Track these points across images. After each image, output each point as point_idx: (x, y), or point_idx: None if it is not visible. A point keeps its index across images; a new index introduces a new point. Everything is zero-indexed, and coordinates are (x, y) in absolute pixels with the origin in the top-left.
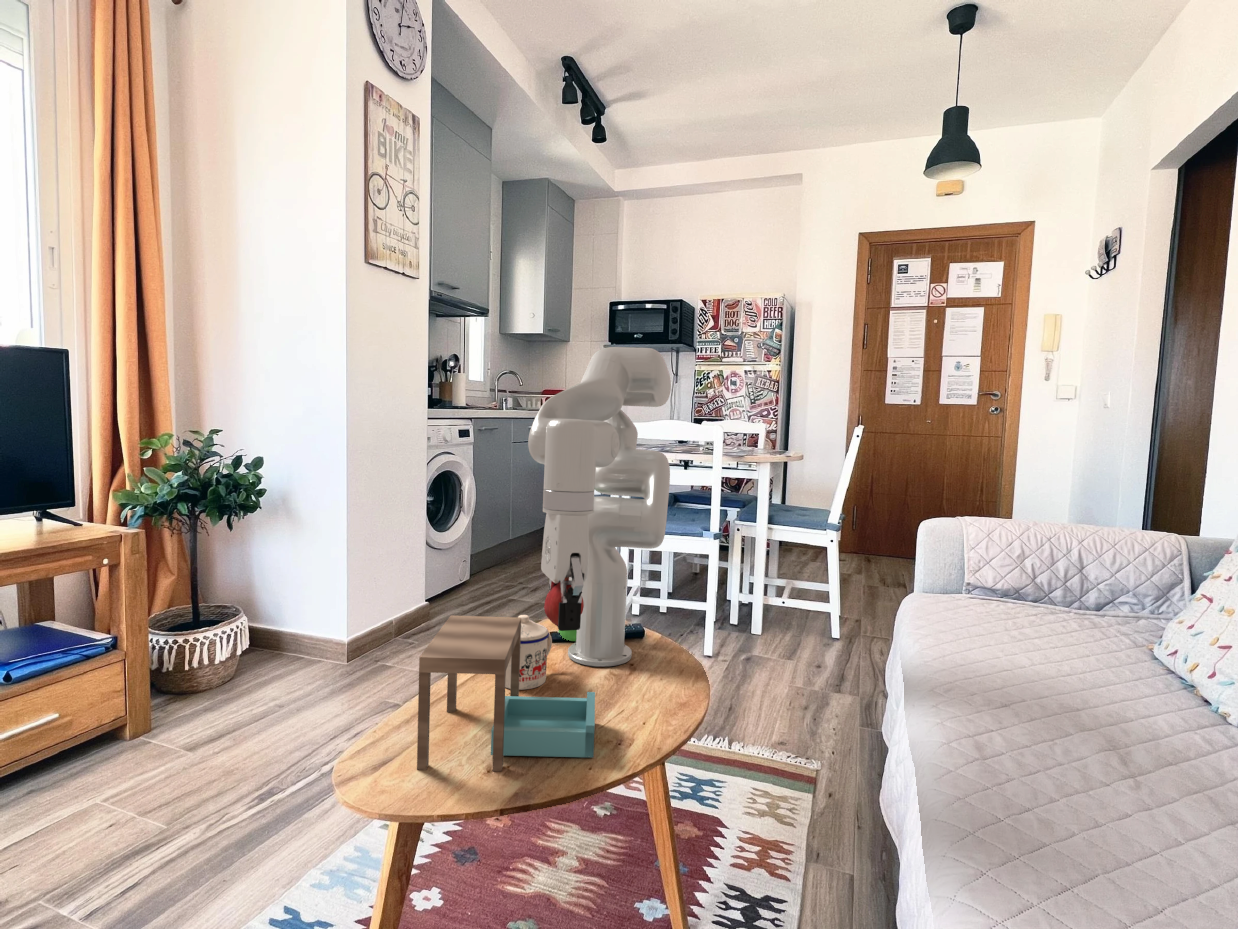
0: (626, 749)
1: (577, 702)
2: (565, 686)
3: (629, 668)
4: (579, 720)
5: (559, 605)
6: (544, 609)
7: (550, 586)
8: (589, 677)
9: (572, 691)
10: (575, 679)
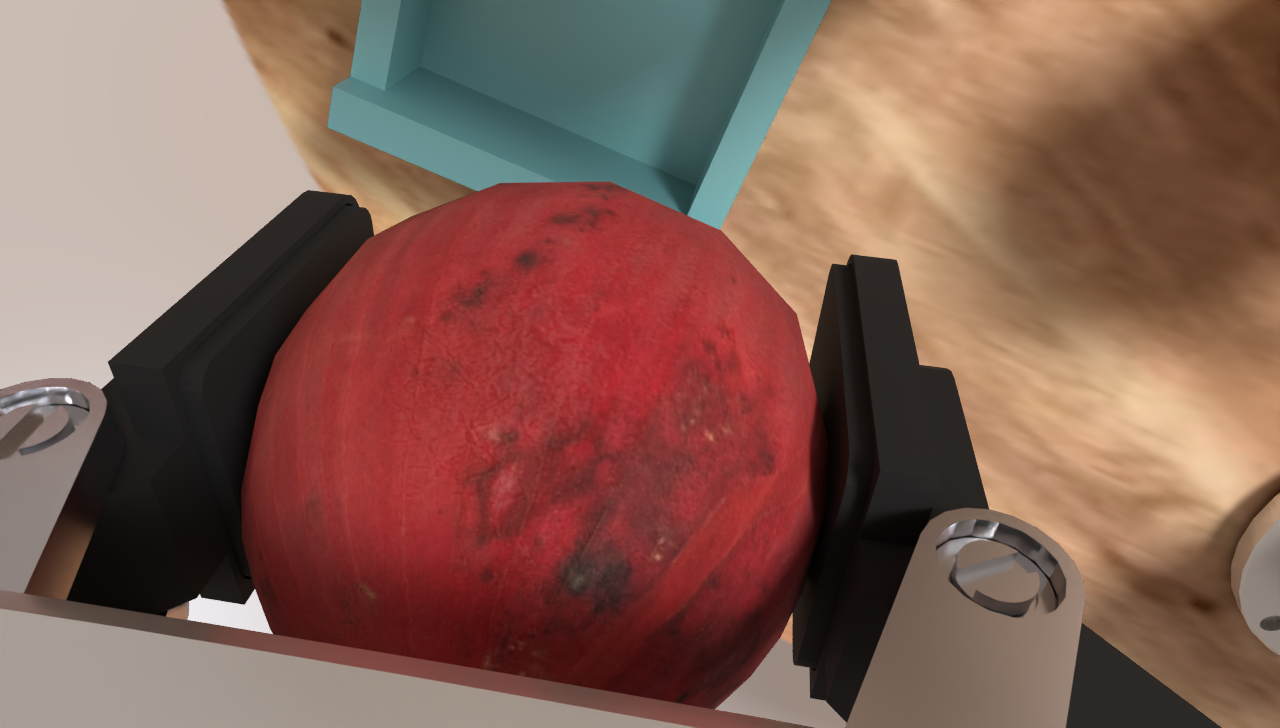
0: None
1: (705, 173)
2: (1182, 248)
3: (1170, 579)
4: (669, 140)
5: (140, 341)
6: (598, 192)
7: (921, 576)
8: (1204, 397)
9: (1095, 256)
10: (1232, 329)
